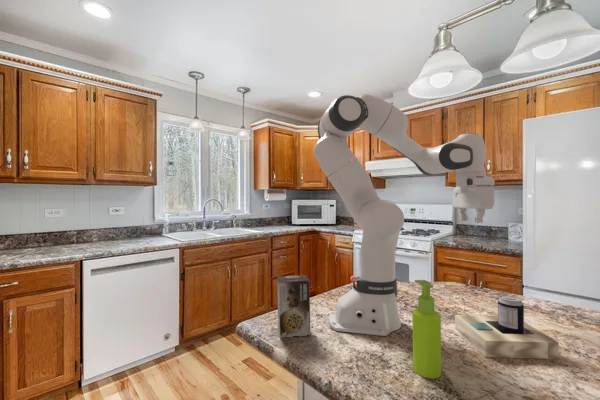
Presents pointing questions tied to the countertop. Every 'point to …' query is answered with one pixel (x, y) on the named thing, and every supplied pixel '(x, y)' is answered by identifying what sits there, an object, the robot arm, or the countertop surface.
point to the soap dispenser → (426, 335)
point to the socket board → (505, 339)
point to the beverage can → (510, 315)
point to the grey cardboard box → (293, 306)
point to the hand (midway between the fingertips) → (471, 221)
